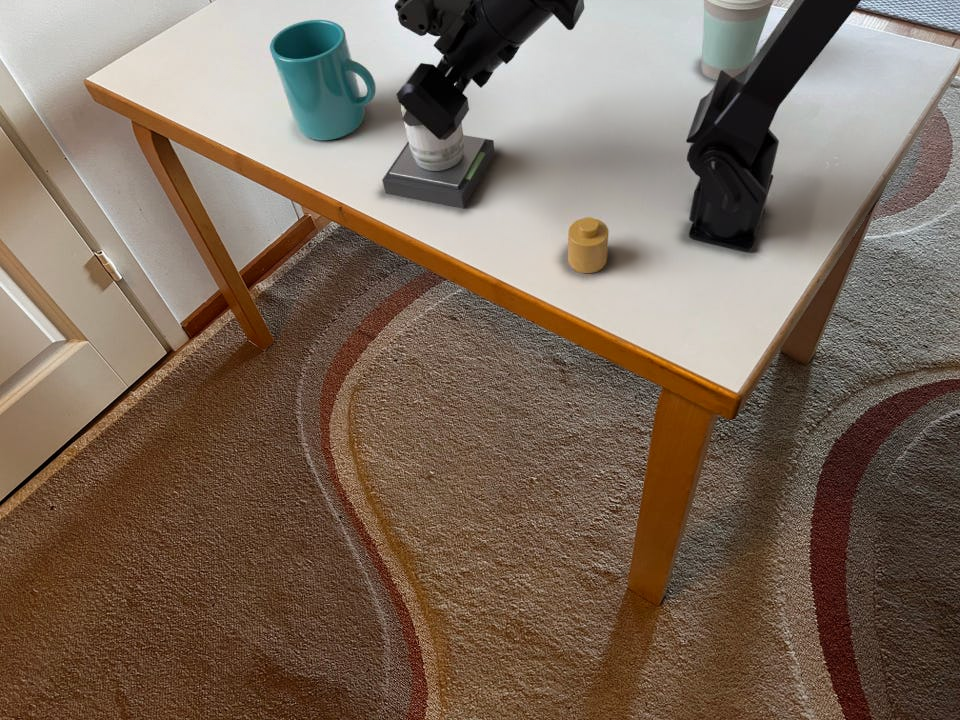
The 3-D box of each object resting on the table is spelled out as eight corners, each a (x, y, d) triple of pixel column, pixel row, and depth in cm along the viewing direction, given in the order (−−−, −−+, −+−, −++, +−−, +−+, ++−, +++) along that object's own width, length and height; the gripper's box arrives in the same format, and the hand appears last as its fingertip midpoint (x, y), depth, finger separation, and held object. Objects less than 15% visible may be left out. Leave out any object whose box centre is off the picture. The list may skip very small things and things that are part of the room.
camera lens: (477, 153, 82) (469, 93, 76) (435, 180, 80) (423, 120, 74) (442, 131, 86) (432, 71, 79) (401, 157, 83) (387, 97, 77)
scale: (495, 153, 86) (493, 135, 84) (463, 208, 81) (461, 190, 79) (420, 141, 89) (416, 123, 87) (385, 193, 84) (380, 175, 82)
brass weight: (612, 251, 75) (614, 215, 71) (599, 277, 73) (601, 242, 69) (575, 242, 76) (576, 206, 72) (562, 268, 74) (562, 232, 70)
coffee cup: (737, 44, 95) (756, -51, 85) (772, 77, 90) (797, -20, 80) (678, 60, 94) (691, -34, 84) (710, 95, 89) (728, -1, 79)
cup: (370, 149, 89) (349, 66, 80) (285, 138, 92) (255, 57, 83) (397, 106, 94) (379, 23, 85) (315, 97, 97) (290, 16, 88)
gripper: (479, -101, 68) (398, 3, 80) (396, -1, 58) (317, 101, 70) (560, -11, 72) (471, 76, 84) (494, 97, 62) (404, 177, 74)
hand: (418, 104), depth 78 cm, fingers closed on camera lens, 6 cm apart
